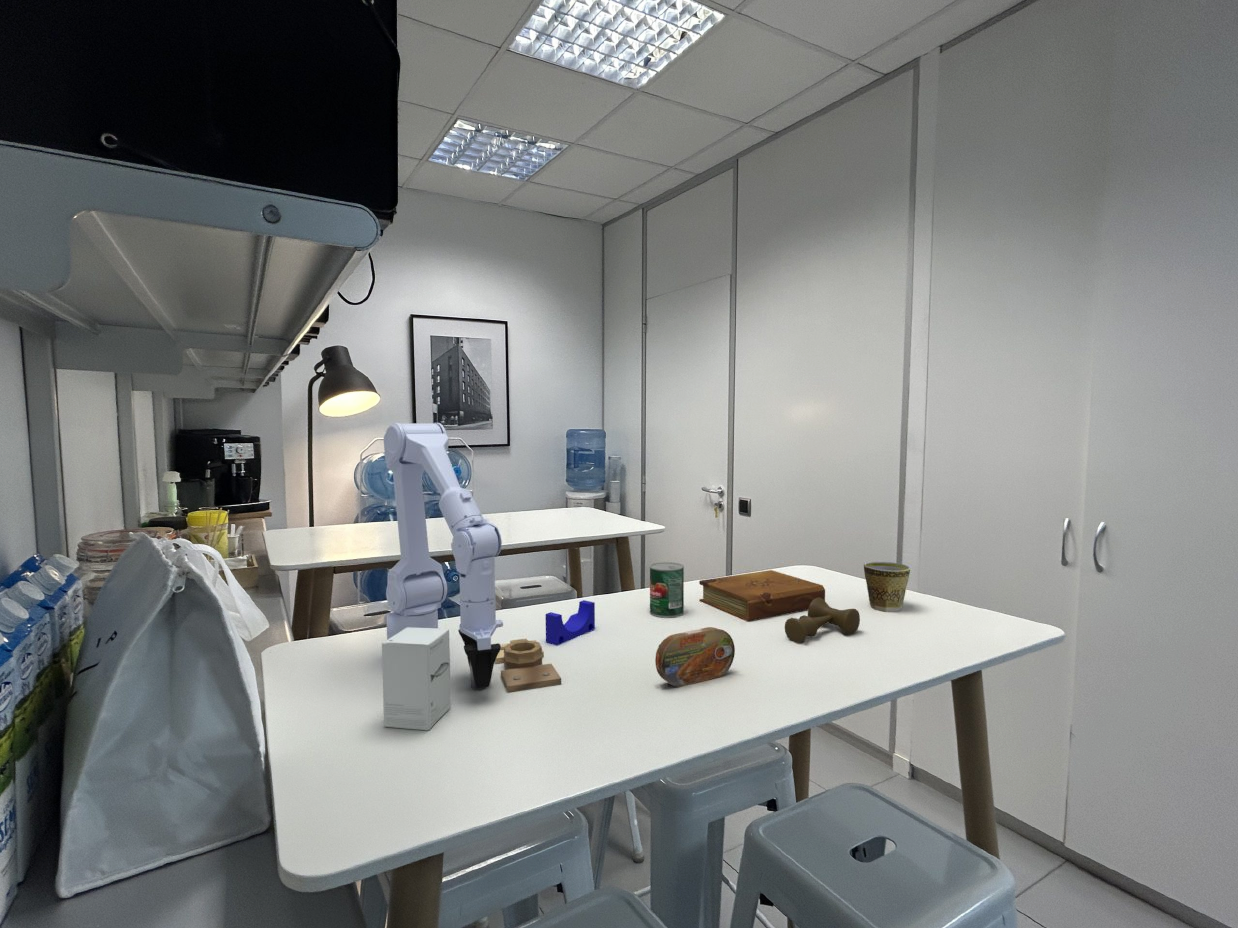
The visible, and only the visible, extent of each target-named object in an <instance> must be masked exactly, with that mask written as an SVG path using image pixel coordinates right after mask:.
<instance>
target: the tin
mask: <svg viewBox="0 0 1238 928" xmlns="http://www.w3.org/2000/svg"><path fill="white" fill-rule="evenodd" d="M735 652H736V648H735V642H734V639H733V638H732V636H731V634H729V632H727V631H726V630H723V629H721V628H716V627H712V626H711V627H710V626H709V627H704V628H698V629H697V628H696V629H695V630H693V629H692V630H688V631H684V632H678V633H675V634H671V635H668V636H667V637H666V638H664V639H663V640H661V643H660V644H659V645H658V647H657V649H656V652H655V662H654V663H655V668H656V672H657V674H658V675H659V677H660V678H661V679H662V680H664V681H665V682H667V683H668V684H669V685H671V686H673V687H677V688H682V687H686V686H691V685H693V684H694V685H695V684H698V683H701V682H706V681H709V680H714V679H717V678H720V677H722V676H724V675H725V674H726V673H727V672H728V671H729V670H730V668H731V666H732V665H733V661H734V660H735V654H736V653H735Z"/></svg>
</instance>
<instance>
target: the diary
mask: <svg viewBox="0 0 1238 928" xmlns="http://www.w3.org/2000/svg"><path fill="white" fill-rule="evenodd" d="M698 583H699V585H701V586H702V598H700V599H699V602H700V603H702V602H703V603H702V604H705V605H707V606H710V607H712V608H714V609H717V610H719V611H722V612H724V613H726V614H729V615H731V616H732V617H735V618H737V619H740V620H743V621H745V622H747V623H748V622H753V621H758V620H762V619H763V620H764V619H768V618H774V617H778V616H783V615H784V616H785V615H789V614H794V613H800V612H803V611H808V608H809V605H810V603H811V602H812V601H813V600H814V599H815V598H822V599H823V600H825V601H826V589H825V588H824V587H825V586H824V585H823V584H819V583H816V582H813V581H809V580H806V579H802V578H800V577H796V576H793V575H789V574H786V573H783V572H779V571H776V570H772V569H769V570H762V571H755V572H747V573H743V574H735V575H730V576H729V575H728V576H721V577H716V578H715V577H714V578H709V579H701V580H700V579H699V582H698Z"/></svg>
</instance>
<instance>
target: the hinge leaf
mask: <svg viewBox="0 0 1238 928" xmlns="http://www.w3.org/2000/svg"><path fill="white" fill-rule="evenodd" d="M499 644H500V646H501V648H500V652H499V653H498V655H497V657H496V660H495V663H494V665H495V664H498V665H499V664H504V658H505V660H506V662H511V663H517V664H522V663H529V662H535V661H536V660H538V659H539V658H541V657H542V658H545V657H544V655H545V654H544V650H543V647H542V645H541V643H540V642H538V641H537V639H533V640H528V638H520V639H513V640H510V642H509V643H502V644H501V643H499Z"/></svg>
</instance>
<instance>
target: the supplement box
mask: <svg viewBox="0 0 1238 928" xmlns="http://www.w3.org/2000/svg"><path fill="white" fill-rule="evenodd" d="M450 652H451V651H450V629H449V628H438V629H437V628H410V627H407V628H405V629H403V630H402V631H400V632H399V633H397V634H396V635H394V636H393V637H391V638H389V639H388V640H387V639H386V640H384V641H383V642H382V643H381V654H382V655H381V656H382V657H381V659H382V660H381V662H382V664H381V665H382V694H383V696H382V698H383V701H382V702H383V703H382V704H383V705H382V706H383V727H385V728H397V729H407V730H419V731H430V730H431V729H432V727H434V725H435V724H436V723H437V722H438V721H439V720H440V719H441V718H442V717H443V716H444V715H445V714H446V713H447V712H448V711H449V710H450V709H451V706H452V702H451V700H452V699H451V659H450V658H451V657H450V656H451V654H450Z"/></svg>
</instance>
